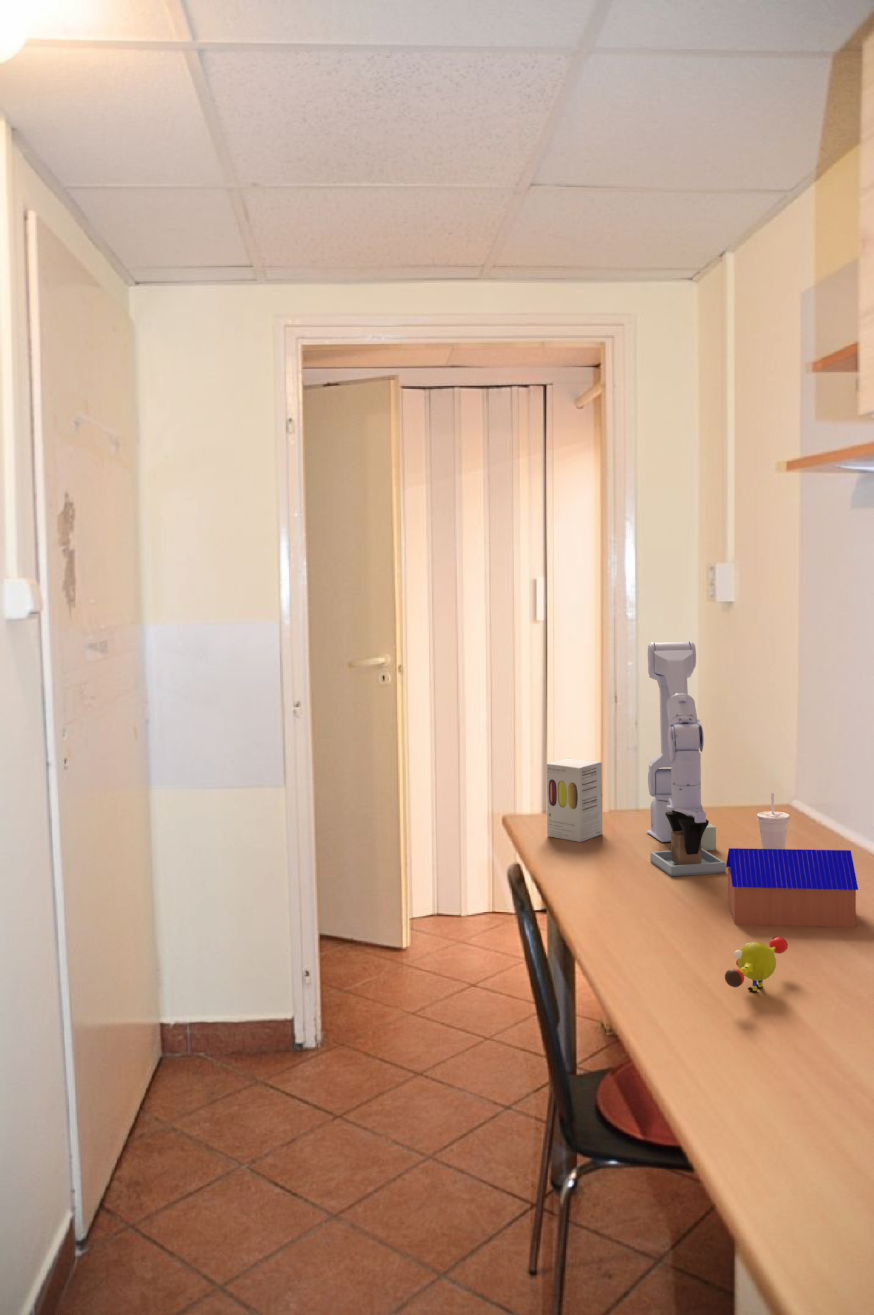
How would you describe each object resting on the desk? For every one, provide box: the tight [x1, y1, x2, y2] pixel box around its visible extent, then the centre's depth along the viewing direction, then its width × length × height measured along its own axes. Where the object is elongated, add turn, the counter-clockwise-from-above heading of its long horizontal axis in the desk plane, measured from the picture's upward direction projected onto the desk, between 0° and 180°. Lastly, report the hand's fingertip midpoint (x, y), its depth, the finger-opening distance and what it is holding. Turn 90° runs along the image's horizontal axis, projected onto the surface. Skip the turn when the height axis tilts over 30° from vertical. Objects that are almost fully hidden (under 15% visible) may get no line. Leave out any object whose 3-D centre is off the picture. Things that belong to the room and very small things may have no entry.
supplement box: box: [546, 757, 603, 843], centre depth 241 cm, size 10×9×17 cm
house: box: [725, 847, 859, 928], centre depth 182 cm, size 12×20×12 cm, turn 80°
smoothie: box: [756, 792, 791, 849], centre depth 215 cm, size 6×6×14 cm
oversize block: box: [701, 823, 717, 851], centre depth 228 cm, size 6×6×5 cm
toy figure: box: [724, 936, 789, 993], centre depth 151 cm, size 18×6×7 cm, turn 141°
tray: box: [649, 848, 726, 878], centre depth 213 cm, size 11×11×2 cm
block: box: [670, 831, 702, 865], centre depth 213 cm, size 4×4×6 cm
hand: (686, 850), depth 213 cm, fingers open, 5 cm apart
